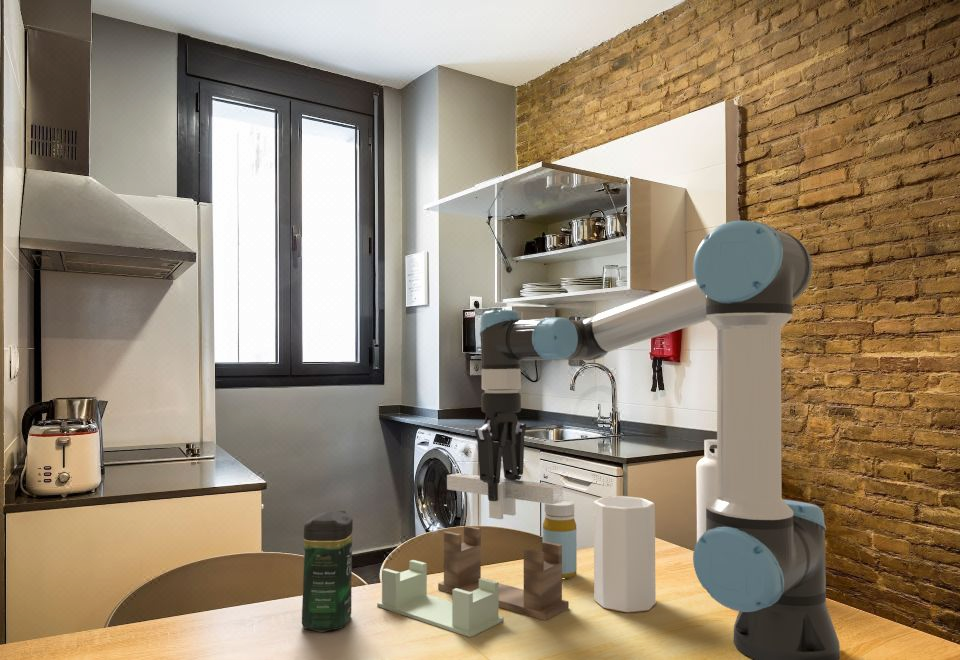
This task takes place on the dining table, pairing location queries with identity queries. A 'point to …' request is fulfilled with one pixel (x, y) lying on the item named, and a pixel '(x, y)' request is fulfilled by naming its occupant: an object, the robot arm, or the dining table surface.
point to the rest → (440, 601)
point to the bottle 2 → (705, 484)
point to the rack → (533, 601)
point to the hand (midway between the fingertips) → (502, 515)
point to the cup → (624, 553)
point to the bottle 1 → (562, 533)
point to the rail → (508, 488)
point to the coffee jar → (327, 571)
